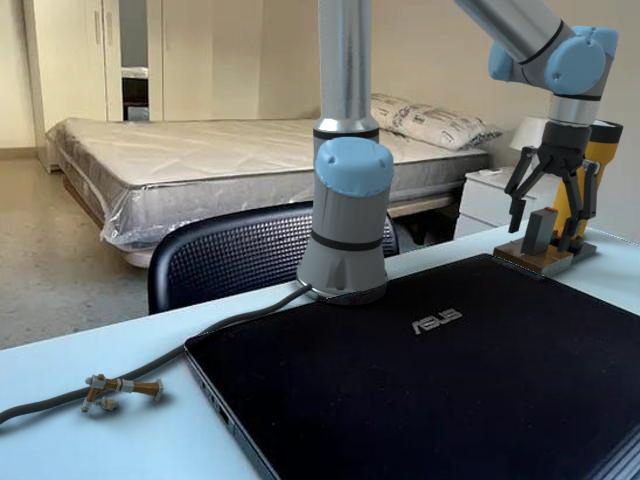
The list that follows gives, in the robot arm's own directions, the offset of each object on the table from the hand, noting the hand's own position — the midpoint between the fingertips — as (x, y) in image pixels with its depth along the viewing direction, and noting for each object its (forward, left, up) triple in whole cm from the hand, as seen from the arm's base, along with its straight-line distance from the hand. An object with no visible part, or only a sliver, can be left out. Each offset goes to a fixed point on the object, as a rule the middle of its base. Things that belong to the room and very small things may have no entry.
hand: (536, 240), depth 96 cm
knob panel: (0, 0, -5) cm, 5 cm away
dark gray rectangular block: (0, 0, -2) cm, 2 cm away
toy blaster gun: (-77, +4, -5) cm, 77 cm away
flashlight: (+24, +5, -5) cm, 25 cm away
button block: (+13, 0, -5) cm, 14 cm away
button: (+13, 0, -2) cm, 13 cm away
